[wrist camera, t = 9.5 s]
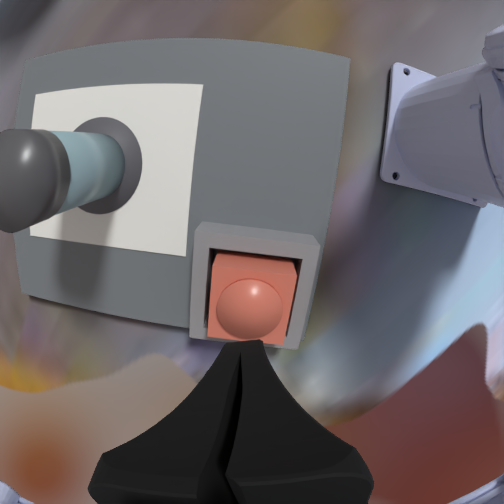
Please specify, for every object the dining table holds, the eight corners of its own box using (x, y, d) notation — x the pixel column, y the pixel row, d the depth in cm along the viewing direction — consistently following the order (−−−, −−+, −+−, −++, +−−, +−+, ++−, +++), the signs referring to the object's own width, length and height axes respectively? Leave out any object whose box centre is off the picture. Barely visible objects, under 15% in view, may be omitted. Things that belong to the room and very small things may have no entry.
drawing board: (344, 63, 16) (362, 47, 12) (301, 331, 21) (308, 360, 18) (34, 62, 15) (6, 54, 12) (29, 287, 20) (6, 304, 17)
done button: (291, 258, 17) (297, 277, 14) (280, 322, 18) (283, 348, 15) (218, 250, 17) (211, 267, 14) (212, 314, 18) (206, 339, 15)
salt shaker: (129, 132, 16) (45, 124, 8) (124, 201, 17) (43, 237, 9) (72, 133, 16) (-20, 133, 8) (69, 197, 17) (-19, 228, 9)
